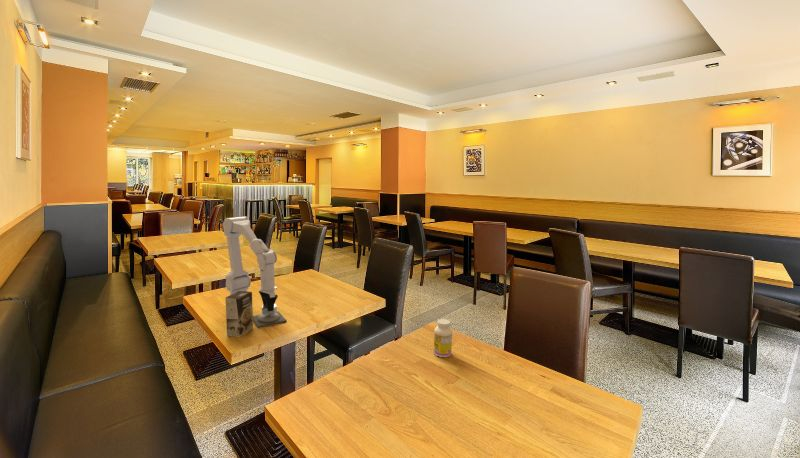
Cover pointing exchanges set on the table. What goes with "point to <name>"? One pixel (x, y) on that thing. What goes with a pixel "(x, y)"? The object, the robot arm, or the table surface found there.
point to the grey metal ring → (268, 313)
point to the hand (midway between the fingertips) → (268, 308)
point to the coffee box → (239, 313)
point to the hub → (268, 319)
